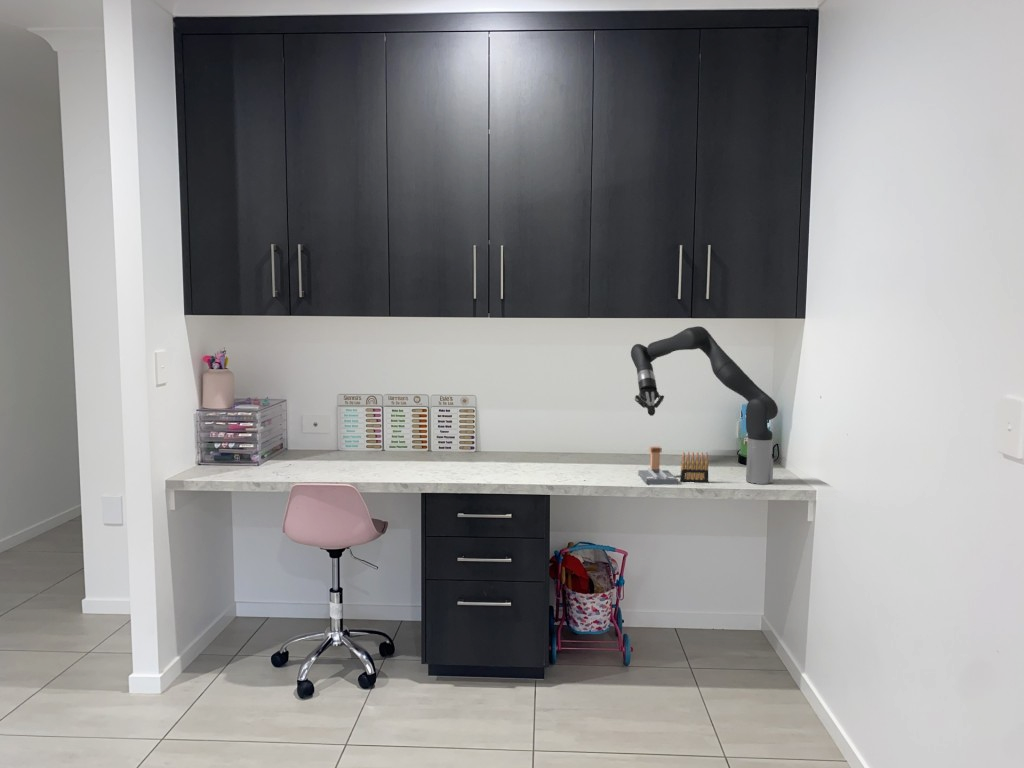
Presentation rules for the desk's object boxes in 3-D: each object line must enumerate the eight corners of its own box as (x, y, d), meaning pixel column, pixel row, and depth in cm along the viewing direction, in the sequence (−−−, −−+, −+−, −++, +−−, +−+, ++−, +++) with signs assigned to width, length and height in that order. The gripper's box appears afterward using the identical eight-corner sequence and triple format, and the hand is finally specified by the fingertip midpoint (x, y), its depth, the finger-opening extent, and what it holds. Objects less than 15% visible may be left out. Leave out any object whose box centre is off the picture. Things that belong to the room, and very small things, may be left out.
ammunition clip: (707, 481, 312) (708, 451, 311) (708, 483, 310) (709, 452, 309) (680, 481, 313) (680, 451, 311) (680, 482, 311) (681, 452, 309)
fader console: (667, 475, 323) (667, 467, 323) (677, 484, 307) (677, 476, 307) (638, 475, 322) (638, 467, 322) (646, 484, 307) (646, 476, 306)
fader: (659, 470, 321) (660, 446, 320) (661, 472, 318) (661, 448, 317) (648, 470, 321) (649, 446, 320) (650, 472, 318) (650, 448, 317)
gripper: (633, 376, 344) (637, 409, 333) (663, 377, 344) (669, 409, 333) (630, 387, 349) (635, 419, 339) (660, 387, 350) (665, 419, 339)
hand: (652, 414), depth 336 cm, fingers closed
